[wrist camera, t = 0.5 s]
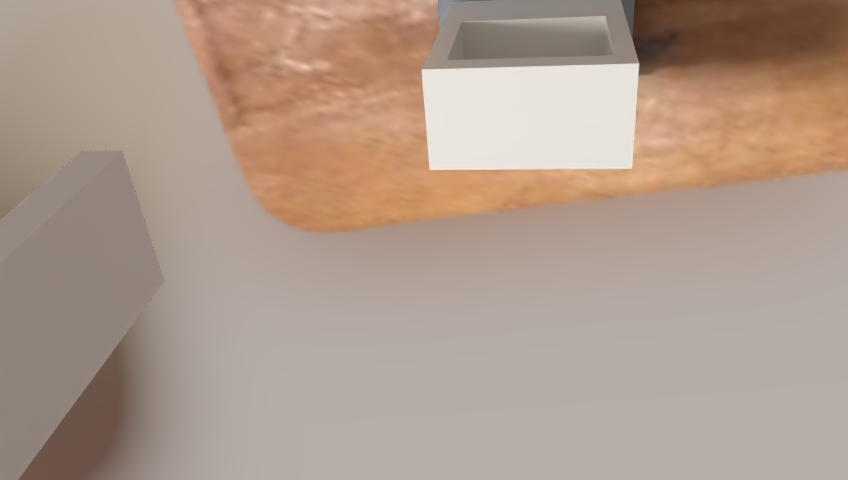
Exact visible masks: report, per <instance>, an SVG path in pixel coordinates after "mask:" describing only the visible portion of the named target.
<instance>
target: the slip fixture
mask: <svg viewBox="0 0 848 480" xmlns="http://www.w3.org/2000/svg"><path fill="white" fill-rule="evenodd" d="M634 7H635V0H438V8H439V23H440V31H439V33H438V35H437V37H436V40H435V42H434V44H433V46H432V48H431V50H430V53H429V55H428V57H427V59H426V61H425V63H424V66H423V68H422V80H423V93H424V105H425V117H426V130H427V142H428V154H429V167H430V170H493V169H632V162H633V147H634V133H635V118H636V103H637V88H638V74H639V61H638V58H637V54H636V51H635V47H634V44H633V40H632V39H633V23H634Z"/></svg>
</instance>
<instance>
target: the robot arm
mask: <svg viewBox="0 0 848 480" xmlns="http://www.w3.org/2000/svg"><path fill="white" fill-rule="evenodd" d="M163 282H164V278H163V275H162V272H161V269H160V266H159V262H158V260H157V256H156V253H155V250H154V247H153V244H152V241H151V238H150V235H149V231H148V228H147V225H146V222H145V219H144V216H143V213H142V210H141V207H140V203H139V201H138V197H137V194H136V191H135V188H134V185H133V182H132V179H131V176H130V172H129V169H128V166H127V163H126V160H125V157H124V154H123V151H81V152H80V153H79V154H78V155H77V156H75V157H74V158H73V159H72V160H71V161H70V162H68V163H67V164H66V165H65V166H64V167H62V168H61V169H60V170H59V171H58V172H57V173H56V174H54V175H53V176H52V177H51V178H49V179H48V180H47V181H46V182H45V183H44V184H42V185H41V186H40V187H39V188H38V189H37V190H35V191H34V192H33V193H32V194H31V195H29V196H28V197H27V198H26V199H25V200H24V201H22V202H21V203H20V204H19V205H18V206H16V207H15V208H14V209H13V210H12V211H10V212H9V213H8V214H7V215H6V216H5V217H3V218H2V219H1V220H0V480H18V479H19V478H20V476H21V475H22V474H23V472H24V471H25V470H26V468H27V467H28V465H29V464H30V462H31V461H32V460H33V459H34V457H35V456H36V455H37V453H38V452H39V450H40V449H41V448H42V446H43V445H44V444H45V442H46V441H47V439H48V438H49V437H50V436H51V434H52V433H53V432H54V430H55V429H56V427H57V426H58V425H59V423H60V422H61V421H62V419H63V418H64V417H65V415H66V414H67V412H68V411H69V410H70V408H71V407H72V405H73V404H74V403H75V402H76V400H77V399H78V398H79V396H80V395H81V393H82V392H83V391H84V389H85V388H86V387H87V385H88V384H89V383H90V381H91V380H92V379H93V377H94V376H95V375H96V373H97V372H98V370H99V369H100V368H101V366H102V365H103V364H104V362H105V361H106V360H107V358H108V357H109V356H110V354H111V353H112V352H113V350H114V349H115V347H116V346H117V345H118V343H119V342H120V340H121V339H122V338H123V337H124V335H125V334H126V333H127V331H128V330H129V328H130V327H131V326H132V324H133V323H134V322H135V320H136V319H137V318H138V316H139V315H140V313H141V312H142V311H143V309H144V308H145V307H146V305H147V304H148V303H149V301H150V300H151V299H152V297H153V296H154V294H155V293H156V292H157V290H158V289H159V288H160V286H161V285H162V284H163Z"/></svg>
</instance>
